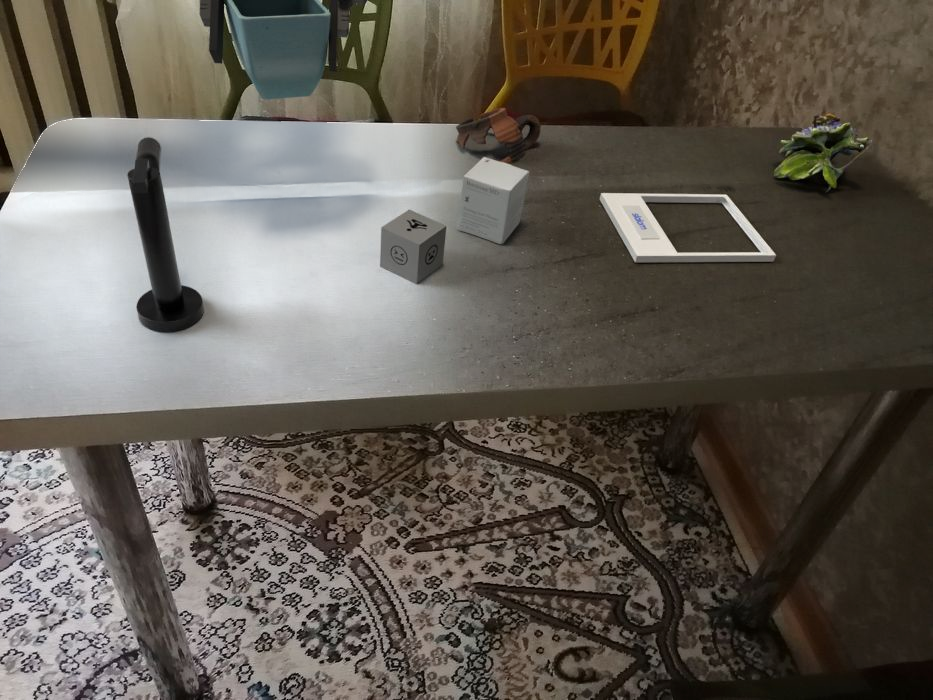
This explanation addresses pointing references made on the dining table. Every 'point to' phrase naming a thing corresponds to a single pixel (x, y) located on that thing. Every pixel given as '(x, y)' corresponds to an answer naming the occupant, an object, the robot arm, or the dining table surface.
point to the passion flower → (820, 149)
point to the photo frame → (652, 241)
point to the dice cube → (412, 246)
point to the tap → (159, 249)
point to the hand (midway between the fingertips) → (274, 61)
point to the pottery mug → (501, 132)
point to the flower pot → (280, 44)
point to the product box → (492, 200)
